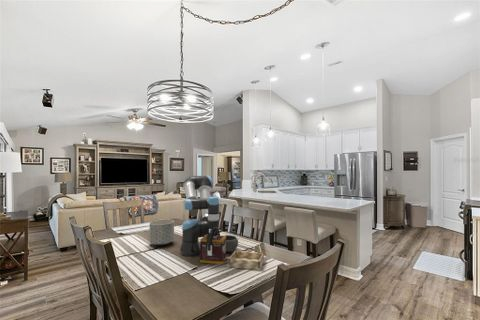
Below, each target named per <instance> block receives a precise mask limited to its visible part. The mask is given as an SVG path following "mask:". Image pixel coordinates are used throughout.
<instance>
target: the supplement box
mask: <svg viewBox="0 0 480 320" xmlns="http://www.w3.org/2000/svg"><path fill="white" fill-rule="evenodd" d="M199 240H200V241H199V244H200V253H199V257H200V258H199V263H205V264H213V265H223V263H224V262H225V261H226V259H227V252H226V236H225V235H221V234H220V235H214V236H213V240H212V244H211V245H212V256H209V255H208V245H206V241H207V235H205V236H204V237H200V239H199Z"/></svg>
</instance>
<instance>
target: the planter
mask: <svg viewBox="0 0 480 320" xmlns="http://www.w3.org/2000/svg"><path fill="white" fill-rule="evenodd" d="M148 239H149V243H150V244H152V245H155V246H157V247H162V246H163V247H164V246H167V245H169V244H170V243H172V242H173V241H174V240H175V220H173V219H168V218H167V219H165V218H164V219H155V220H152V221H149V238H148Z"/></svg>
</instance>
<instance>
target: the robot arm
mask: <svg viewBox="0 0 480 320" xmlns="http://www.w3.org/2000/svg"><path fill="white" fill-rule="evenodd" d="M213 188H214V181H213V178H212V177H211V176H210V175H191V176H189V177H187V178H186V179H185V180H184V181H183V183H182V189H183V190H184V192H185V194H184V195H185V197H186V198H185V200H184V202H183V204H184V210H186V211H198V210H199V211H201V217H200V219H198V218H192V219H187V220H185V221H183V222H182V227H181V230H182V238H181V239H182V241H181V242H182V243H181V245H180V249H179V254H180V255H181V256H185V257H186V256H188V257H189V256H190V257H192V256H196V255H200V241H199V238H202V237H204V236H205V235H207V241H206V245H208V255H209V256H212V245H211V244H212V240H213V236H214V235H220V236H221V233H220V220H219V219H220V216H221V215H220V198H219V196H211V191H212V190H213ZM196 190H197V192H196ZM196 193H199V198H198V197H197V194H196Z"/></svg>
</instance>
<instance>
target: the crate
mask: <svg viewBox="0 0 480 320" xmlns="http://www.w3.org/2000/svg"><path fill="white" fill-rule="evenodd" d="M264 262H265V253H264V252H254V251H243V250H241V251H240V250H234V251H233V253H232V254H231V255H230V256H229V257H228V268H236V269H237V268H238V269H244V268H245V269H244V270H253V269H254V271H261V269H262V266H263V264H264Z"/></svg>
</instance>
